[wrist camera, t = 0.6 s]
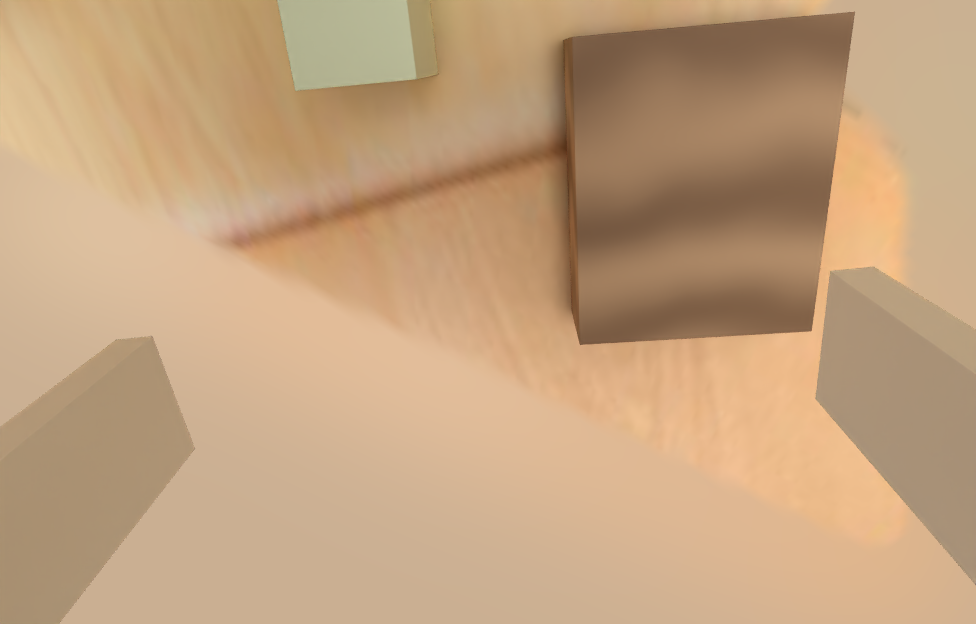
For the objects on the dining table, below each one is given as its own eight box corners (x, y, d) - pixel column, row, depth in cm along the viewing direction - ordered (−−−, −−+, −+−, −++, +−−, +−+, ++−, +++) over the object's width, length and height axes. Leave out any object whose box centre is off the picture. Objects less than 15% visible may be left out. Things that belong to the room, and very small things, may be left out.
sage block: (326, -24, 30) (266, -51, 23) (426, -35, 30) (398, -66, 22) (344, 83, 32) (295, 90, 25) (438, 74, 32) (416, 79, 24)
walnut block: (562, 40, 31) (572, 37, 27) (802, 19, 30) (854, 11, 26) (571, 309, 37) (580, 344, 32) (772, 296, 36) (811, 331, 32)
